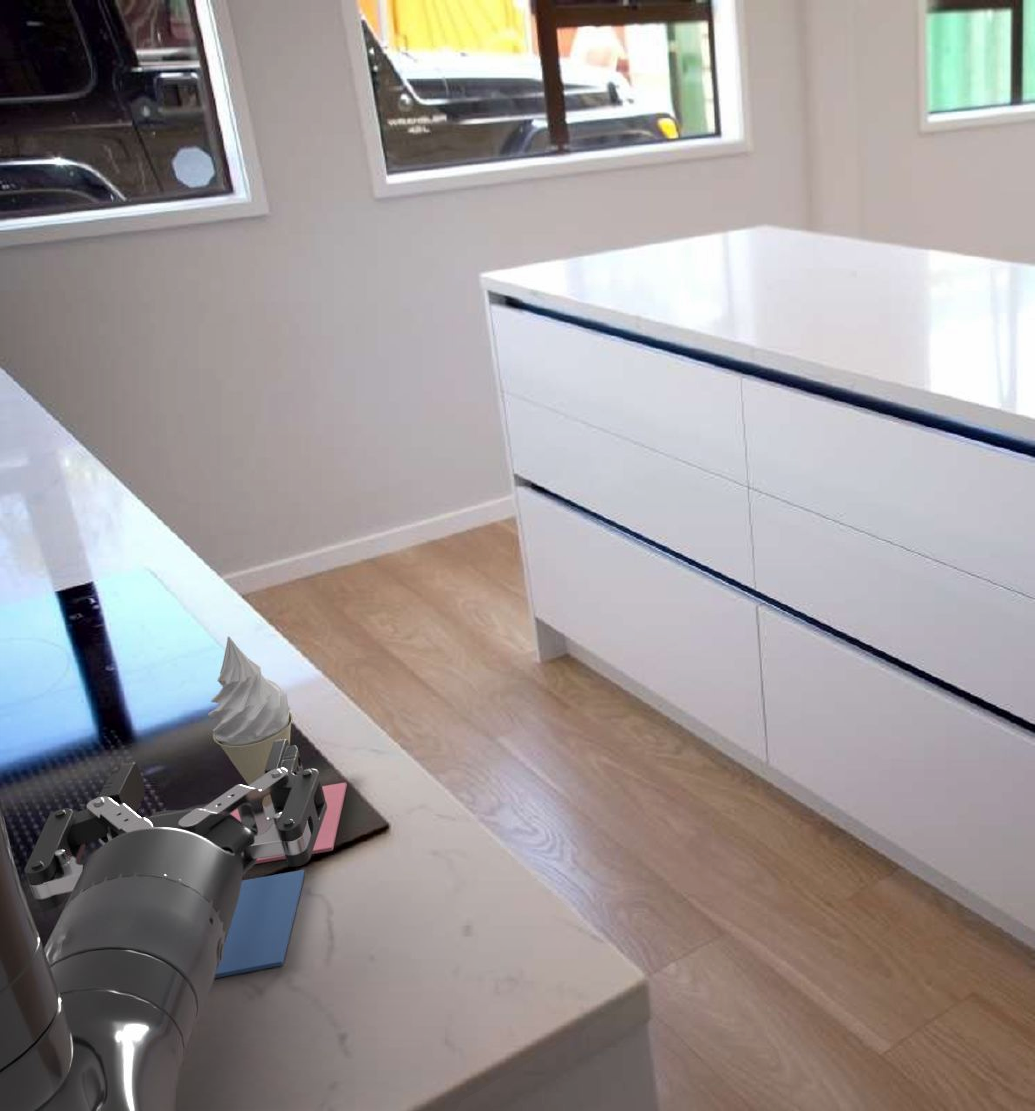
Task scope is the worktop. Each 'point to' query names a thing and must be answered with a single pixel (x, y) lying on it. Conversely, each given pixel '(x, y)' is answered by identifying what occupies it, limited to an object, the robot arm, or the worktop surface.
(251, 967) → the blue mat
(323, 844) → the rose mat
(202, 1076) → the worktop surface
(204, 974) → the robot arm
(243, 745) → the ice cream cone
